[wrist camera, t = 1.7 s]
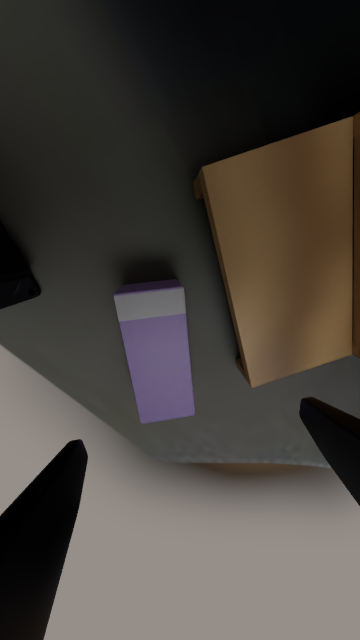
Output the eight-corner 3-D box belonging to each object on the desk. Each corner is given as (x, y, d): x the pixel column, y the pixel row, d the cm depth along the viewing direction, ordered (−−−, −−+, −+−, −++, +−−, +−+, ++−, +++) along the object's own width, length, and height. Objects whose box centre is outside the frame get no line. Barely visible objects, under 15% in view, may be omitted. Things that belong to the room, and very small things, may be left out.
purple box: (143, 393, 22) (140, 424, 18) (122, 284, 18) (112, 294, 14) (188, 387, 22) (195, 415, 18) (178, 278, 18) (184, 286, 14)
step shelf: (237, 367, 22) (275, 423, 15) (192, 184, 16) (221, 129, 9) (374, 321, 22) (478, 355, 15) (384, 119, 16) (571, 11, 9)
